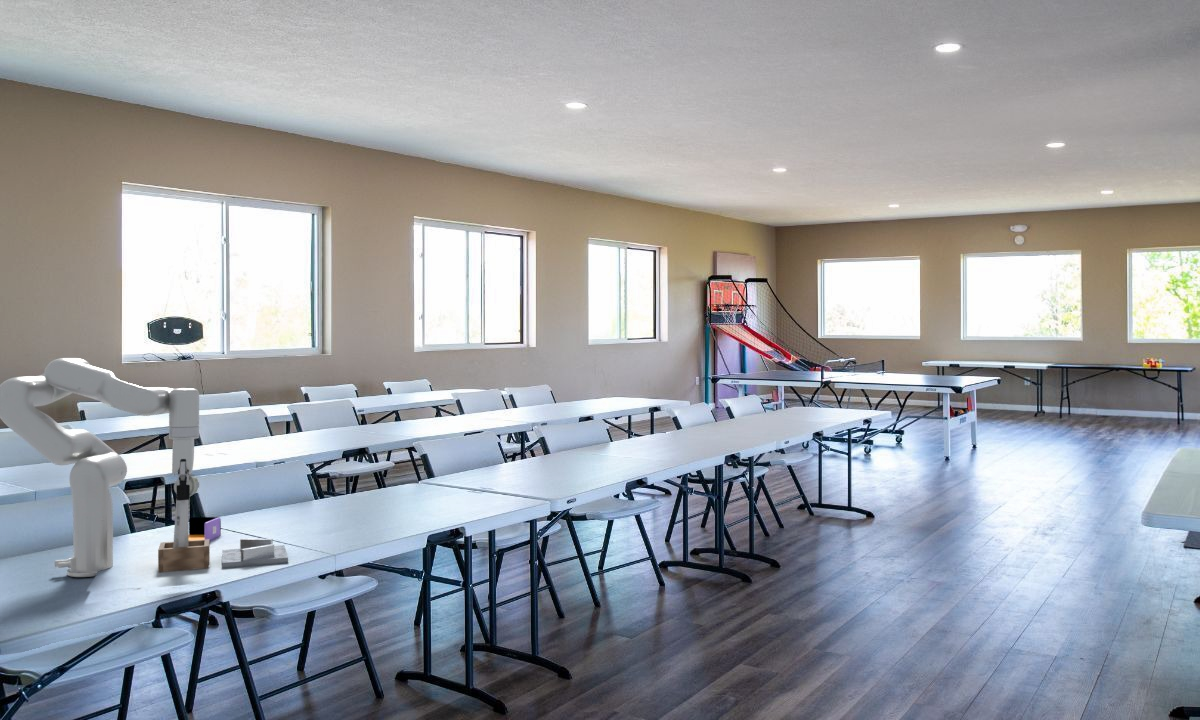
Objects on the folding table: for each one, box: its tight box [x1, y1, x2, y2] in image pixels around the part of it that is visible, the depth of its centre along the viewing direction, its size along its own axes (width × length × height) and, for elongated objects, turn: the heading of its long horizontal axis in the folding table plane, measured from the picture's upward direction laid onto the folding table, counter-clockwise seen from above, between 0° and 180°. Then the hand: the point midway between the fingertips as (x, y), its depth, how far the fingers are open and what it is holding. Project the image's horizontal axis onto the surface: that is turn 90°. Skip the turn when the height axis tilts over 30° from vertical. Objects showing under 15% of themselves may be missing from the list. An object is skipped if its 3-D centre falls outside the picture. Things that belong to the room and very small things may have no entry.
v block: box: [221, 538, 289, 569], centre depth 257 cm, size 17×18×4 cm
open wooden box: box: [157, 539, 211, 573], centre depth 248 cm, size 12×10×6 cm
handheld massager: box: [173, 474, 200, 548], centre depth 248 cm, size 5×7×25 cm
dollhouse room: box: [188, 516, 222, 541], centre depth 284 cm, size 12×12×7 cm
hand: (183, 497), depth 248 cm, fingers closed on handheld massager, 6 cm apart
